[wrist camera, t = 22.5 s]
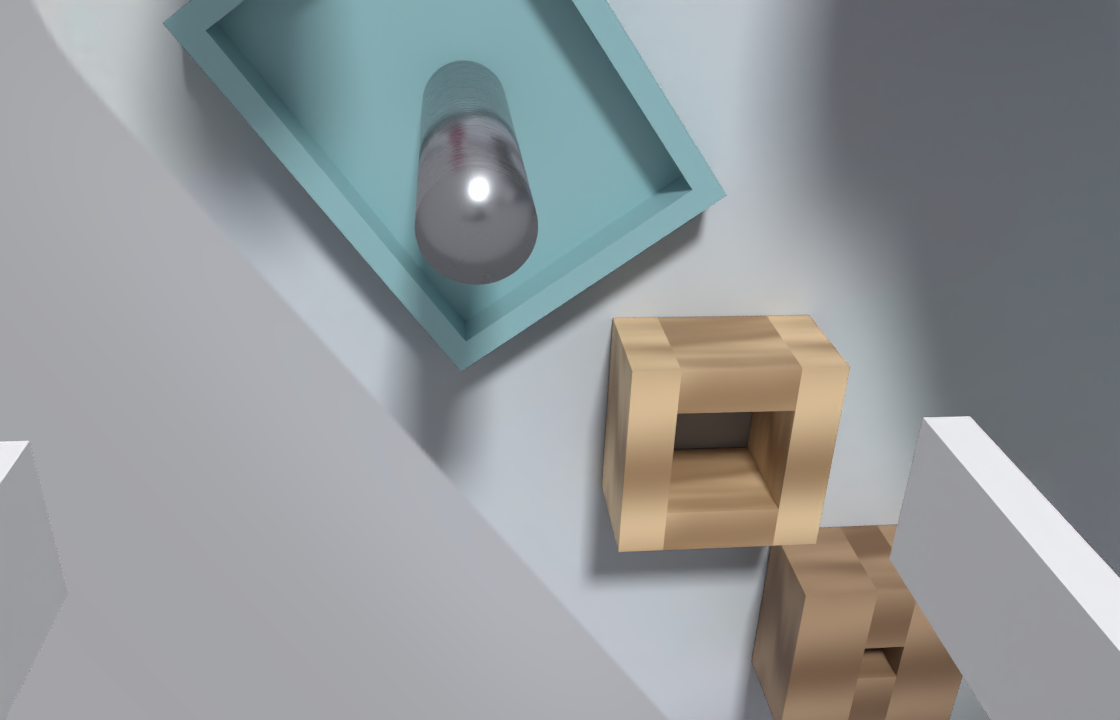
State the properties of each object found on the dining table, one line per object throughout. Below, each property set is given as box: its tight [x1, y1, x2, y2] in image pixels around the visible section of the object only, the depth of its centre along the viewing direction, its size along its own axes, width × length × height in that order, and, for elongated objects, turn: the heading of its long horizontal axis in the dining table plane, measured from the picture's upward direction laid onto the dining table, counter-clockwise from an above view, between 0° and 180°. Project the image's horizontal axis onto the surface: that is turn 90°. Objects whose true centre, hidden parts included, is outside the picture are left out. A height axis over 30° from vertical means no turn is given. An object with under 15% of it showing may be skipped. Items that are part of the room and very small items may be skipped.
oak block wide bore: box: [602, 315, 850, 552], centre depth 44 cm, size 9×9×5 cm
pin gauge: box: [415, 60, 538, 285], centre depth 32 cm, size 3×3×14 cm
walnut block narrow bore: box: [752, 525, 963, 720], centre depth 50 cm, size 9×9×5 cm
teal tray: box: [163, 0, 727, 371], centre depth 37 cm, size 17×13×2 cm
